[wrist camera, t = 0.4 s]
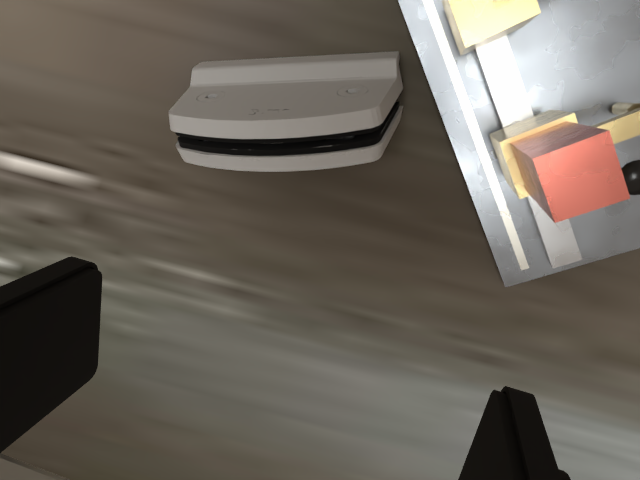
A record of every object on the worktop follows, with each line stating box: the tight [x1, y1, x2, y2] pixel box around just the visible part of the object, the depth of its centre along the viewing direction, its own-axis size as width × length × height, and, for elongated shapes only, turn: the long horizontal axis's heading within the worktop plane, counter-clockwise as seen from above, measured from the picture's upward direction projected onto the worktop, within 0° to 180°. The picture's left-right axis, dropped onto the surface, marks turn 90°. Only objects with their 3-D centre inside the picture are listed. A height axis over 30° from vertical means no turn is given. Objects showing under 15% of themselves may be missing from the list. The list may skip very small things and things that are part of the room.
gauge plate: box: [398, 0, 640, 287], centre depth 30 cm, size 14×24×9 cm, turn 24°
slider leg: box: [489, 102, 640, 223], centre depth 26 cm, size 8×4×14 cm, turn 114°
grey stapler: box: [169, 51, 403, 172], centre depth 34 cm, size 17×5×10 cm, turn 92°
